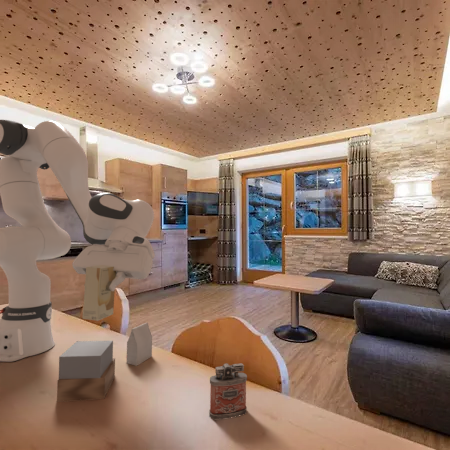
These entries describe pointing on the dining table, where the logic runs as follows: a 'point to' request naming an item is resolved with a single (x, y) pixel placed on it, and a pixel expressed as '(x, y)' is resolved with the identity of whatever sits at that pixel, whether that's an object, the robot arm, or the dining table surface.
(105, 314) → the skincare box
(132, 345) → the white red printed carton
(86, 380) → the tower base block
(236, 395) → the lighter
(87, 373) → the tower top block
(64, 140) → the robot arm
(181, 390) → the dining table surface
